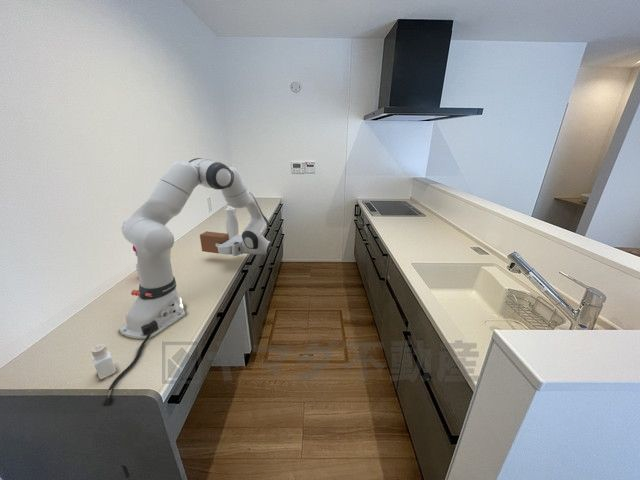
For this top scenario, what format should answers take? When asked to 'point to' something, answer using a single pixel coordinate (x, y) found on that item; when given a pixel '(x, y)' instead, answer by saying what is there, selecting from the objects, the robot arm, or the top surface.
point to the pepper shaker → (103, 361)
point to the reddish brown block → (212, 241)
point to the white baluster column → (231, 221)
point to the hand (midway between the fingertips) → (220, 242)
